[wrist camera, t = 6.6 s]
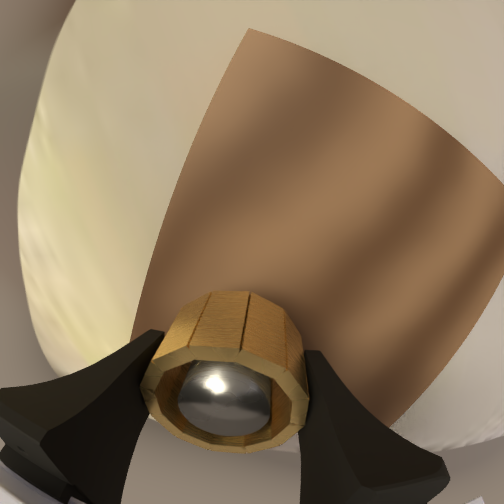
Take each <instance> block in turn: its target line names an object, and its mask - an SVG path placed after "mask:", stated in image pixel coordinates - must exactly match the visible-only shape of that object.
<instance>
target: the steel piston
mask: <svg viewBox="0 0 504 504" xmlns="http://www.w3.org/2000/svg"><path fill="white" fill-rule="evenodd" d="M270 400H271V377H269V376H266V375H264V374H262V373H259V372H257V371H255V370H253V369H250V368H248V367H246V366H244V365H241V364H239V363H237V362H221V361H206V360H192V362H191V364H190V367H189V370H188V372H187V375H186V377H185V380H184V383H183V385H182V388H181V390H180V393H179V396H178V406H179V409H180V411H181V413H182V414H183V416H184V417H185V418H186V419H187V420H188V421H189V422H190V423H192V424H193V425H195V426H196V427H198V428H200V429H202V430H204V431H207V432H210V433H213V434H217V435H223V436H242V435H247V434H250V433H253V432H256V431H257V430H259V429H261V428H262V427H263V426H264V425H265V424H266V423H267V421H268V420H269V417H270Z"/></svg>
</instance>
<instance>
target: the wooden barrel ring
mask: <svg viewBox="0 0 504 504" xmlns="http://www.w3.org/2000/svg"><path fill="white" fill-rule="evenodd" d="M192 360H206V361H221V362H237V363H239V364H241V365H244V366H246V367H248V368H250V369H253V370H255V371H257V372H259V373H262V374H264V375H266V376H269V377H271V378H272V379H271V400H270V417H269V420H268V421H267V423H266V424H265V425H264V426H263V427H262V428H261V429H259V430H257V431H256V432H253V433H250V434H247V435H242V436H223V435H217V434H213V433H210V432H207V431H204V430H202V429H200V428H198V427H196V426H195V425H193V424H192V423H190V422H189V421H188V420H187V419H186V418H185V417H184V416H183V414H182V413H181V411H180V409H179V406H178V396H179V393H180V390H181V388H182V385H183V383H184V380H185V377H186V375H187V372H188V370H189V367H190V364H191V362H190V361H192ZM140 389H141V392H142V395H143V398H144V400H145V403H146V406H147V408H148V411H149V413H151V416H152V417H154V418H155V419H156V420H157V421H158V422H159V423H160V424H161V425H162V426H164V427H165V428H166V429H167V430H168V431H169V432H171V433H172V434H173V435H174V436H176V437H177V438H180V439H182V440H184V441H187V442H189V443H192V444H194V445H197V446H199V447H202V448H205V449H207V450H209V449H211V451H220V452H231V453H246V452H247V453H252V452H256V451H260V450H265V449H268V448H272V447H276V446H280V444H281V445H282V444H283V443H284V442H286V441H287V440H288V439H289V438H291V437H292V436H293V435H294V434H295V433H297V432H298V431H299V430H300V429H301V428H303V427H304V425H305V421H306V415H307V409H308V403H309V394H308V386H307V377H306V369H305V362H304V354H303V346H302V339H301V335H300V333H299V331H298V330H297V328H296V327H295V325H294V324H293V322H292V320H291V319H290V317H289V316H288V314H287V312H286V311H285V310H283V308H282V307H280V306H278V305H276V304H274V303H272V302H270V301H268V300H266V299H264V298H262V297H260V296H258V295H257V294H255V293H253V292H251V294H250V293H249V291H213V292H211V291H210V292H209V293H207V294H205V295H203V296H201V297H199V298H197V299H195V300H193V301H191V302H190V303H188V304H186V305H184V306H183V307H182V308H181V310H180V311H179V313H178V315H177V317H176V318H175V320H174V322H173V323H172V325H171V327H170V329H169V330H168V332H167V334H166V335H165V337H164V339H163V341H162V342H161V344H160V346H159V348H158V349H157V351H156V353H155V355H154V356H153V358H152V360H151V362H150V364H149V366H148V368H147V371H146V373H145V375H144V377H143V380H142V382H141V384H140Z"/></svg>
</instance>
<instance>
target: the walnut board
mask: <svg viewBox="0 0 504 504" xmlns="http://www.w3.org/2000/svg"><path fill="white" fill-rule="evenodd" d="M503 275H504V185H503V184H502V183H501V181H500V180H499V179H498V178H497V177H496V176H495V175H494V174H493V173H492V172H491V171H490V170H489V169H488V168H487V167H486V166H485V165H484V164H483V163H482V162H481V161H480V160H479V159H477V158H476V157H475V156H474V155H473V154H472V153H471V152H470V151H469V150H468V149H466V148H465V147H464V146H463V145H462V144H461V143H460V142H458V141H457V140H456V139H455V138H454V137H452V136H451V135H450V134H449V133H448V132H446V131H445V130H444V129H443V128H441V127H440V126H439V125H437V124H436V123H435V122H433V121H432V120H431V119H429V118H428V117H427V116H425V115H424V114H423V113H421V112H420V111H418V110H417V109H416V108H414V107H413V106H411V105H410V104H408V103H407V102H405V101H404V100H402V99H401V98H399V97H398V96H396V95H395V94H393V93H391V92H390V91H388V90H386V89H385V88H383V87H381V86H380V85H378V84H376V83H375V82H373V81H371V80H369V79H368V78H366V77H364V76H362V75H360V74H359V73H357V72H355V71H353V70H351V69H349V68H347V67H345V66H343V65H341V64H339V63H337V62H335V61H333V60H331V59H329V58H326V57H324V56H322V55H320V54H318V53H315V52H313V51H311V50H308V49H306V48H303V47H301V46H299V45H296V44H293V43H291V42H288V41H286V40H283V39H280V38H277V37H274V36H272V35H269V34H266V33H263V32H259V31H256V30H253V29H250V28H249V29H248V30H247V32H246V34H245V36H244V37H243V39H242V41H241V43H240V45H239V47H238V48H237V50H236V52H235V54H234V56H233V58H232V60H231V62H230V64H229V66H228V68H227V69H226V71H225V73H224V75H223V77H222V79H221V82H220V84H219V86H218V88H217V90H216V92H215V94H214V96H213V98H212V100H211V102H210V105H209V107H208V109H207V111H206V113H205V116H204V118H203V120H202V122H201V125H200V127H199V129H198V132H197V134H196V136H195V139H194V141H193V143H192V146H191V148H190V151H189V153H188V156H187V158H186V161H185V163H184V166H183V168H182V171H181V173H180V176H179V179H178V181H177V184H176V187H175V189H174V192H173V195H172V198H171V200H170V203H169V206H168V209H167V212H166V215H165V218H164V221H163V224H162V227H161V230H160V233H159V236H158V239H157V242H156V245H155V249H154V252H153V255H152V258H151V262H150V265H149V268H148V272H147V275H146V279H145V283H144V286H143V290H142V294H141V297H140V301H139V305H138V309H137V313H136V317H135V321H134V325H133V330H132V334H131V339H130V342H131V341H133V340H134V339H136V338H137V337H139V336H140V335H142V334H143V333H145V332H146V331H148V330H150V329H154V330H159V331H164V332H165V335H166V334H167V332H168V330H169V329H170V327H171V325H172V323H173V322H174V320H175V318H176V317H177V315H178V313H179V311H180V310H181V308H182V307H183V306H184V305H186V304H188V303H190V302H191V301H193V300H195V299H197V298H199V297H201V296H203V295H205V294H207V293H209V292H210V291H211V292H213V291H249V293H250V294H251V292H253V293H255V294H257V295H258V296H260V297H262V298H264V299H266V300H268V301H270V302H272V303H274V304H276V305H278V306H280V307H282V308H283V310H285V311H286V312H287V314H288V316H289V317H290V319H291V320H292V322H293V324H294V325H295V327H296V328H297V330H298V331H299V333H300V335H301V339H302V346H303V354H304V351H305V350H319V351H321V352H322V354H323V355H324V357H325V358H326V359H327V361H328V362H329V364H330V365H331V367H332V368H333V370H334V371H335V372H336V374H337V375H338V376H339V378H340V379H341V380H342V382H343V383H344V384H345V386H346V387H347V388H348V389H349V390H350V392H351V393H352V394H353V395H354V396H355V397H356V399H357V400H358V401H359V402H360V403H361V404H362V405H363V406H364V407H365V408H366V409H367V410H368V411H369V412H370V413H371V414H373V415H374V416H375V417H376V418H377V419H378V420H379V421H381V422H382V423H383V424H384V425H386V426H387V427H388V428H389V427H390V426H391V425H392V424H393V423H394V422H395V421H396V420H397V419H398V418H399V417H400V416H401V415H402V414H403V413H404V412H405V411H406V410H407V409H408V408H409V407H410V406H411V405H412V404H413V403H414V402H415V401H416V400H417V399H418V398H419V397H420V395H421V394H422V393H423V392H424V391H425V390H426V389H427V388H428V386H429V385H430V384H431V383H432V382H433V381H434V379H435V378H436V377H437V376H438V375H439V373H440V372H441V371H442V370H443V368H444V367H445V366H446V365H447V363H448V362H449V361H450V359H451V358H452V357H453V356H454V354H455V353H456V351H457V350H458V349H459V347H460V346H461V345H462V343H463V342H464V340H465V339H466V337H467V336H468V335H469V333H470V332H471V330H472V329H473V327H474V325H475V324H476V322H477V321H478V319H479V318H480V316H481V314H482V313H483V311H484V309H485V308H486V306H487V304H488V303H489V301H490V299H491V297H492V296H493V294H494V292H495V290H496V288H497V287H498V285H499V283H500V281H501V279H502V277H503ZM190 362H192V361H190ZM271 379H272V378H271Z"/></svg>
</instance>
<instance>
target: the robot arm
mask: <svg viewBox="0 0 504 504" xmlns="http://www.w3.org/2000/svg"><path fill="white" fill-rule="evenodd" d="M164 337H165V332H164V331H159V330H154V329H150V330H148V331H146V332H145V333H143V334H142V335H140V336H139V337H137V338H136V339H134V340H133V341H131V342H130V343H128V344H127V345H125V346H124V347H122V348H121V349H119V350H117V351H116V352H114V353H112V354H111V355H109V356H107V357H105V358H104V359H102V360H100V361H98V362H97V363H95V364H93V365H91V366H89V367H86V368H84V369H82V370H80V371H77V372H75V373H72V374H70V375H67V376H63V377H60V378H57V379H54V380H51V381H47V382H43V383H38V384H34V385H28V386H19V387H9V388H1V389H0V437H1V439H2V440H3V441H4V442H5V446H4V447H3V449H2V450H1V451H0V504H121V498H122V493H123V489H124V485H125V480H126V476H127V472H128V469H129V465H130V462H131V458H132V455H133V452H134V449H135V446H136V443H137V440H138V437H139V435H140V432H141V430H142V428H143V426H144V424H145V422H146V420H147V418H148V416H149V414H150V413H149V411H148V408H147V406H146V403H145V400H144V398H143V395H142V392H141V389H140V384H141V382H142V380H143V377H144V375H145V373H146V371H147V368H148V366H149V364H150V362H151V360H152V358H153V356H154V355H155V353H156V351H157V349H158V348H159V346H160V344H161V342H162V341H163V339H164ZM304 362H305V369H306V377H307V386H308V394H309V403H308V409H307V415H306V421H305V425H304V427H303V428H301V429H300V430H299V431H298V435H299V444H300V452H301V489H300V490H301V491H300V492H301V493H300V504H427V502H429V501H430V500H431V499H432V498H434V497H435V496H436V495H437V494H439V493H440V492H441V491H442V490H443V489H444V488H445V487H446V486H447V485H448V483H449V481H450V476H449V473H448V471H447V468H446V465H445V463H444V461H443V459H442V457H440V456H438V455H435V454H433V453H431V452H429V451H427V450H424V449H422V448H420V447H418V446H416V445H415V444H413V443H411V442H409V441H408V440H406V439H404V438H403V437H401V436H400V435H398V434H397V433H395V432H394V431H392V430H391V429H390V428H388V427H387V426H386V425H384V424H383V423H382V422H381V421H379V420H378V419H377V418H376V417H375V416H374V415H373V414H371V413H370V412H369V411H368V410H367V409H366V408H365V407H364V406H363V405H362V404H361V403H360V402H359V401H358V400H357V399H356V397H355V396H354V395H353V394H352V393H351V392H350V390H349V389H348V388H347V387H346V386H345V384H344V383H343V382H342V380H341V379H340V378H339V376H338V375H337V374H336V372H335V371H334V370H333V368H332V367H331V365H330V364H329V362H328V361H327V359H326V358H325V357H324V355H323V354H322V352H321V351H319V350H305V351H304ZM464 504H485V503H484V501H483V498H482V496H479V497H477V498H475V499H473V500H470V501H468V502H466V503H464Z"/></svg>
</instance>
